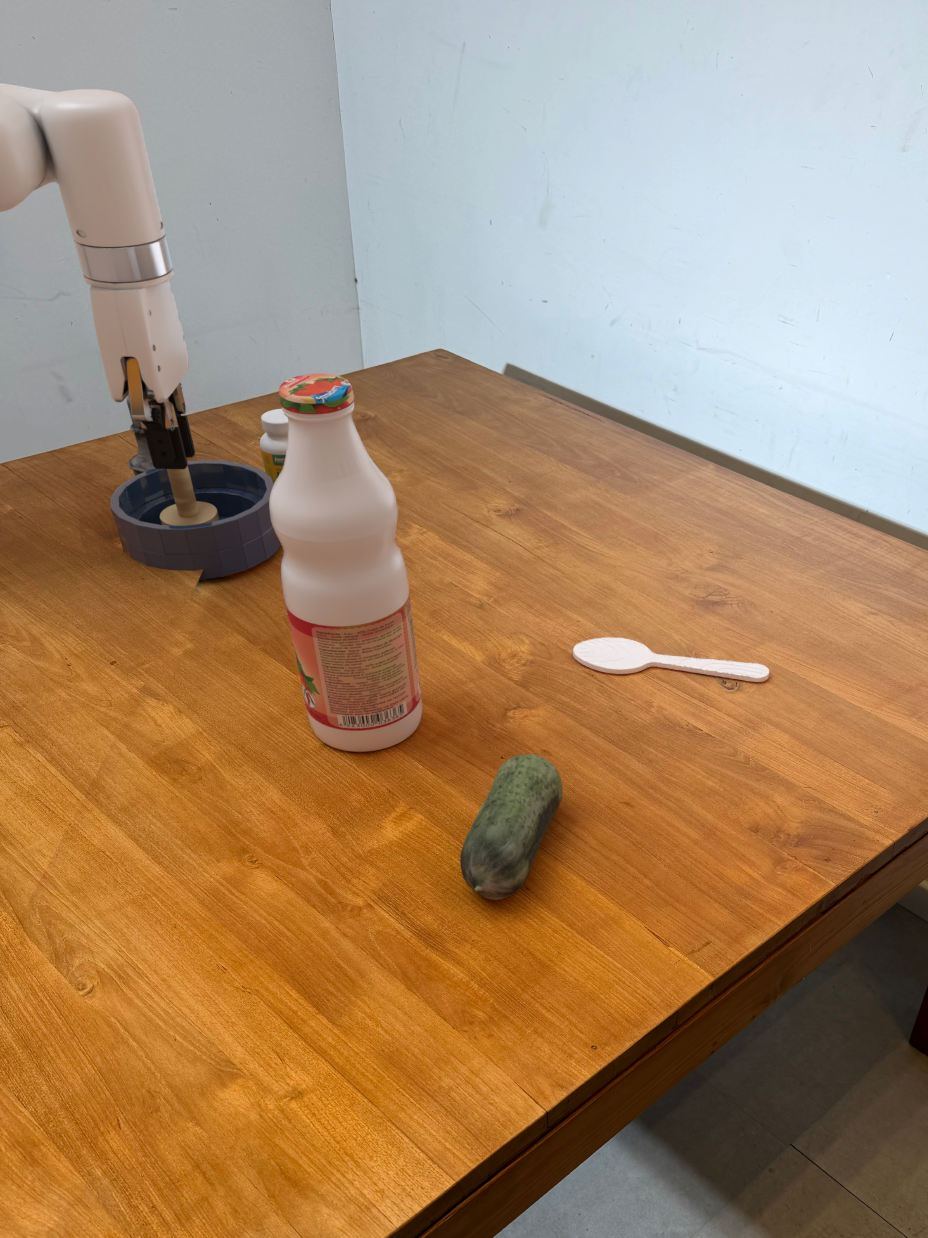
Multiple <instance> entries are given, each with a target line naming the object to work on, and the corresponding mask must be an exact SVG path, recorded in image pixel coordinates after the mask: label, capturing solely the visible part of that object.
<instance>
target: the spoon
mask: <svg viewBox="0 0 928 1238" xmlns="http://www.w3.org/2000/svg"><path fill="white" fill-rule="evenodd" d="M572 656H573V658H574V659H575V660H576V661H577V662H578V663H580V664H581V665H583V666H585V667H587V668H590V669H592V670H595V671H598V672H601V673H602V672H603V673H605V674H606V673H607V674H615V675H628V674H634V673H638V672H641V671H643V670H645V669H648V668H650V667H651V668H652V667H656V668H663V669H671V670H676V671H684V672H689V673H696V674H701V675H708V676H714V677H721V678H727V679H734V680H741V681H745V682H753V683H763V682H766V681H767V680H768V679H769V678H770V669H769V668H768V667H767V665H765V664H762V663H758V662H757V663H756V662H755V661H754V662H750V661H749V662H742V661H735V660H731V659H729V660H725V659H723V658H722V659H715V658H712V659H711V658H699V657H698V656H697V657H693V656H691V657H688V656H683V655H681V656H679V655H670V654H659V653H655V652H654V651H652V650H651V649H650V647H647V646H646V645H645V644H643V643H642V642H640V641H636V640H635V639H632V638H630V639H629V638H626V637H619V636H618V637H617V636H615V637H612V636H611V637H609V636H606V637H605V636H603V637H594V638H590V639H586V640H581V641H580V642H577V643H575V645H574V646H573V649H572Z"/></svg>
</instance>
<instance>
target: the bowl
mask: <svg viewBox="0 0 928 1238" xmlns="http://www.w3.org/2000/svg"><path fill="white" fill-rule="evenodd" d="M187 463H188V469H189V473H190V477H191V482H192V486H193V490H194V494H195V498H196V501H200V502H206V503H209V504H212V505H213V506H215V507H216V509H217V512H218V516H219V520H218V521H215V522H211V523H204V524H195V525H187V526H169V525H162V524H161V520H160V514H161V512H162V511H163V510H164V509H166V508H167V507H169V506H171V505H174V504H175V500H174V496H173V492H172V488H171V484H170V480H169V476H168V472H167V469H156V468H154V469H151V470H148V471H146V472H143V473H141V474H138V475H134V476H131V478H129V479H127V480H126V481H125V482H122V483H121V484H120V485H119V486H118V487H117V488H116V489H115V491H114V492H113V493H112V495H111V496H110V510H111V513H112V516H113V520H114V524H115V526H116V530H117V533H118V534H117V535H118V537H119V541H120V544H121V547H122V551H123V553H126V554H127V555H128V557H129V558H130V559H131V560H134V561H135V562H138V563H139V564H142V565H144V566H146V567H152V568H156V569H162V570H167V571H202V572H201V574H200V576H199V578H198V581H200V580H211V579H219V578H222V577H228V576H231V575H234V574H237V573H240V572H241V573H242V572H244V571H248V570H250V569H251V568H254V567H256V566H258V565H259V564H261V563H263V562H265V561H268V560H269V559H270V558H271V557H272V556H273V555H274V554H276V552H278V551H279V550H280V548H281V546H282V544H281V543H280V541H279V539H278V537H277V535H276V533H275V530H274V528H273V525H272V522H271V518H270V510H269V499H270V493H271V490H272V488H273V485H274V483H273V479H272V478H271V477H270V476H268V475H267V474H266V473H265V470H262V469H260V468H257V467H255V466H252V465H249V464H246V463H242V462H235V461H229V460H216V459H215V460H211V459H207V460H206V459H201V460H200V459H199V460H191V461H187Z"/></svg>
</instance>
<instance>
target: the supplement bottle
mask: <svg viewBox="0 0 928 1238" xmlns="http://www.w3.org/2000/svg"><path fill="white" fill-rule="evenodd" d="M260 420H261V428H262V430H263V431H264V434H262V435H261V438H260V440H259V447H260V448H259V449H260V453H261V458H262V461H263V467H264V472H265V473H266V474H267V475H268V476H270V477H271V478H272V479H273V483H275V481H276V479H277V478H278V476H279V475H280V473H281V471H282V469H283V466H284V462H285V457H286V450H287V443H288V429H289V424H288V417H287V416H285V415H284V413H283V411H282V408H277V409H272V410H268V411H266V412H264V413H263V414H262V415H261V416H260Z"/></svg>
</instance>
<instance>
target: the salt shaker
mask: <svg viewBox="0 0 928 1238" xmlns="http://www.w3.org/2000/svg"><path fill="white" fill-rule="evenodd" d="M147 394H150V392H147ZM126 405H127V409H128V412H129V415H130V420H131V424H130V426H129V429H130V431H131V432H132V433H134V437H135V441H136V444H137V453H136V454H135V455H133V456H132V457H131V458H130V459H128V462H127V464H128V467H129V469H131V470H132V471H133V475H134V476H136V475H138V474H141V473H143V472H146V471H148V470H151V469H154V468H155V467H154V466H153V463H152V459H151V455H150V452H149V448H148V444H147V440H146V436H145V432H144V430H143V429H142V427H141V423H140V421H134V420H133V418H132V413H131V404H130V396H129V395H128V396H127V397H126ZM149 406H150V407H151V406H152V405H149Z"/></svg>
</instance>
